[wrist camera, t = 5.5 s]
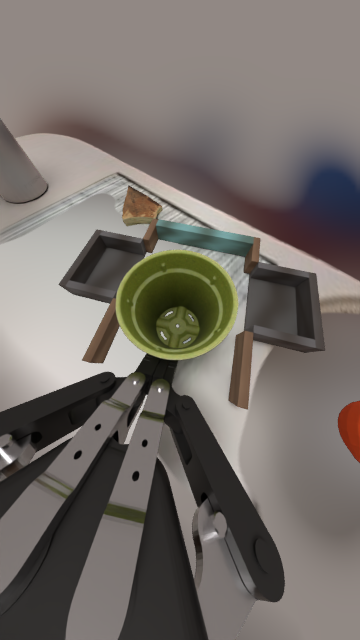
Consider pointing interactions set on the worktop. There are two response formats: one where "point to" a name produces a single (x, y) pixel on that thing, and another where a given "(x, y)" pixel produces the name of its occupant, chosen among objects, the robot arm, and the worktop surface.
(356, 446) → the clementine
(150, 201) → the shard
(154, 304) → the plant pot
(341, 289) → the worktop surface
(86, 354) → the two-trap channel
